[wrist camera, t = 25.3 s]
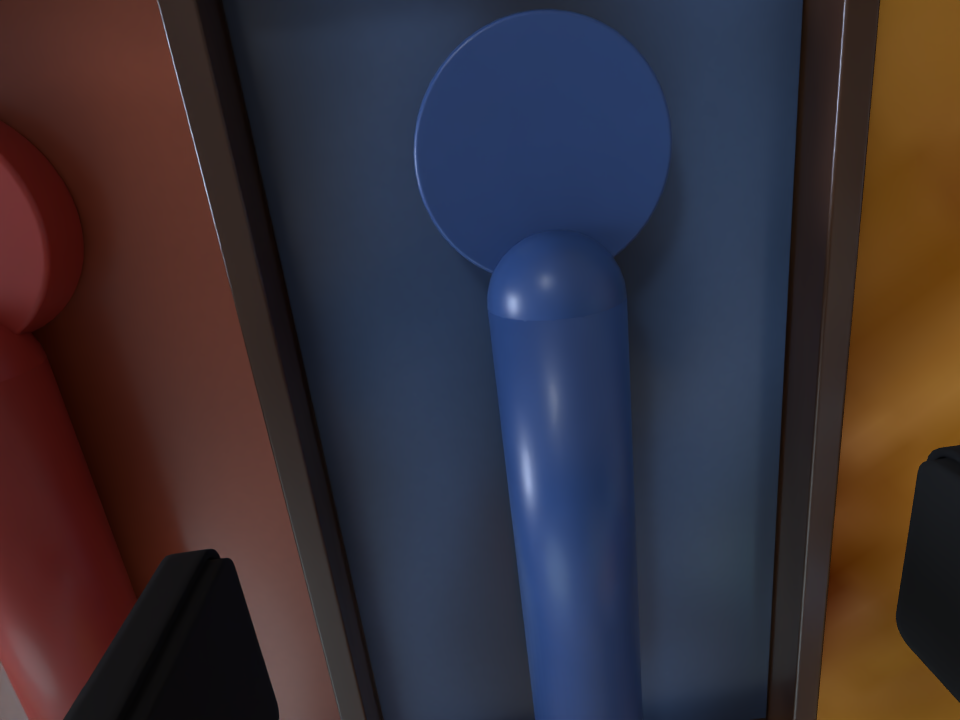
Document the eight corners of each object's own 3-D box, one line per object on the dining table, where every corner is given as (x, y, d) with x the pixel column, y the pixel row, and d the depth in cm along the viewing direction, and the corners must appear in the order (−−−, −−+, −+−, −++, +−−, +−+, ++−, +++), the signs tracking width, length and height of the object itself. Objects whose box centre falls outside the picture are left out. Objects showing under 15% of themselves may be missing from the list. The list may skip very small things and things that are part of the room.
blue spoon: (664, 695, 16) (700, 788, 14) (496, 717, 16) (504, 815, 14) (649, 6, 11) (704, -28, 9) (398, 37, 11) (385, 10, 9)
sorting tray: (-7, 817, 18) (-56, 890, 16) (-449, 7, 11) (-616, -17, 9) (777, 714, 18) (812, 776, 16) (830, -147, 11) (899, -198, 9)
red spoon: (255, 749, 16) (222, 853, 14) (85, 771, 16) (25, 879, 14) (38, 83, 11) (-73, 69, 9) (-217, 114, 11) (-396, 109, 9)
